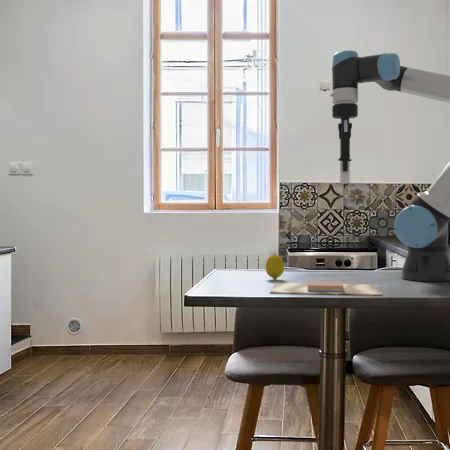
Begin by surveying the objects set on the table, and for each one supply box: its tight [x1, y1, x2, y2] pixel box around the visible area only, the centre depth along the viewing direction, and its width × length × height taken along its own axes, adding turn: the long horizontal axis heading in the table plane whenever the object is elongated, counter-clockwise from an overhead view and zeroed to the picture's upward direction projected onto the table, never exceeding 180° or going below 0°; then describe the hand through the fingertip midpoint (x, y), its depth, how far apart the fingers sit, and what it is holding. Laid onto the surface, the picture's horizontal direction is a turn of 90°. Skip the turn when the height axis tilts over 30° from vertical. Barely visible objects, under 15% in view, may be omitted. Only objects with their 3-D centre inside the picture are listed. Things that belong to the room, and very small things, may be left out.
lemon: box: [265, 253, 285, 280], centre depth 179 cm, size 6×6×8 cm
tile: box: [307, 280, 344, 292], centre depth 154 cm, size 9×2×9 cm
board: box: [269, 282, 384, 297], centre depth 157 cm, size 28×18×1 cm, turn 81°
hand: (344, 182), depth 177 cm, fingers closed
